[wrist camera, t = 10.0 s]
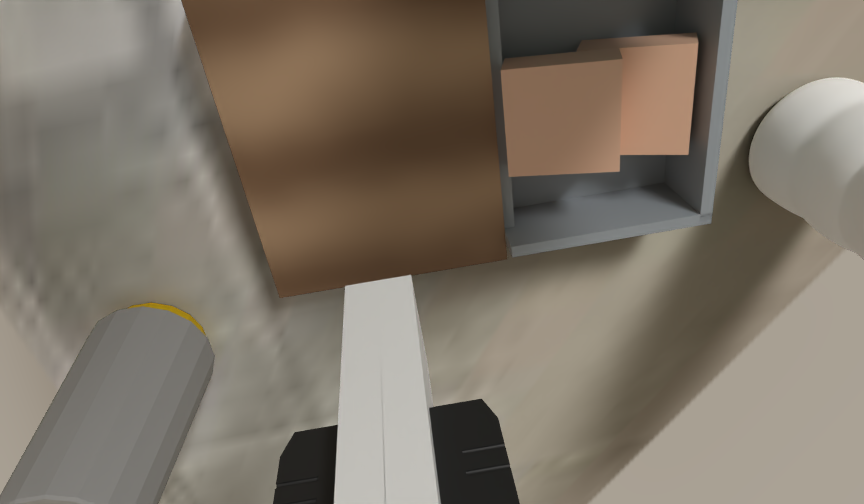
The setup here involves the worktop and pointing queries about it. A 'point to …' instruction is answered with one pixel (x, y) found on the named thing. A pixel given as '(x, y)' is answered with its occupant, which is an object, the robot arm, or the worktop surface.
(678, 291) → the worktop surface
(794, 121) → the water bottle
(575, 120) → the tile
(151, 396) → the soap bottle
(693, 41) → the tile
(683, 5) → the tray
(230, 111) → the walnut board
